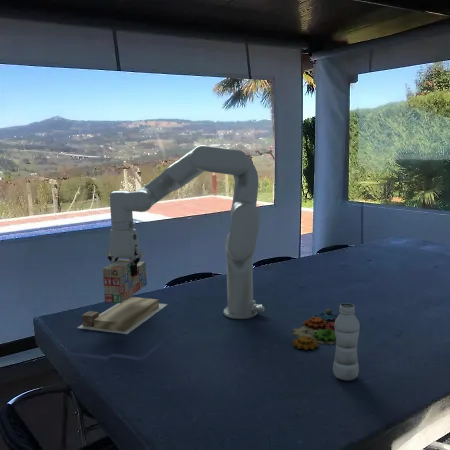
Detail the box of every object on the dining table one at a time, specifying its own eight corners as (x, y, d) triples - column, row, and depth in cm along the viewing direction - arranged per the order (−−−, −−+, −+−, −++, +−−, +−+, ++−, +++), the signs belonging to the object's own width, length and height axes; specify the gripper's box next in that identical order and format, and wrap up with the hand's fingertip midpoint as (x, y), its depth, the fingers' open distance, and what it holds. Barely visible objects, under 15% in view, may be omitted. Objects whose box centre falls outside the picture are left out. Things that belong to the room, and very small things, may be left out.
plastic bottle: (329, 372, 123) (330, 302, 120) (353, 370, 124) (355, 300, 120) (337, 384, 117) (338, 310, 114) (362, 382, 117) (364, 309, 114)
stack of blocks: (132, 284, 177) (130, 253, 175) (147, 285, 175) (145, 253, 173) (104, 302, 156) (102, 267, 154) (121, 303, 155) (119, 268, 153)
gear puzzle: (320, 358, 133) (320, 345, 132) (273, 345, 143) (273, 332, 142) (360, 324, 157) (361, 313, 156) (318, 314, 167) (318, 304, 166)
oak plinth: (158, 306, 176) (158, 299, 176) (124, 331, 153) (123, 323, 153) (131, 304, 180) (131, 296, 180) (94, 327, 157) (93, 319, 156)
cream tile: (167, 306, 179) (167, 304, 179) (127, 336, 151) (127, 334, 151) (123, 301, 186) (123, 300, 185) (77, 329, 158) (76, 327, 158)
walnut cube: (99, 322, 161) (98, 312, 161) (92, 327, 158) (91, 316, 157) (89, 321, 163) (89, 311, 162) (82, 325, 159) (82, 315, 158)
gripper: (149, 224, 162) (151, 273, 165) (107, 223, 167) (110, 270, 170) (138, 228, 155) (141, 279, 158) (95, 226, 160) (98, 275, 163)
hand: (125, 274), depth 164 cm, fingers closed on stack of blocks, 6 cm apart
